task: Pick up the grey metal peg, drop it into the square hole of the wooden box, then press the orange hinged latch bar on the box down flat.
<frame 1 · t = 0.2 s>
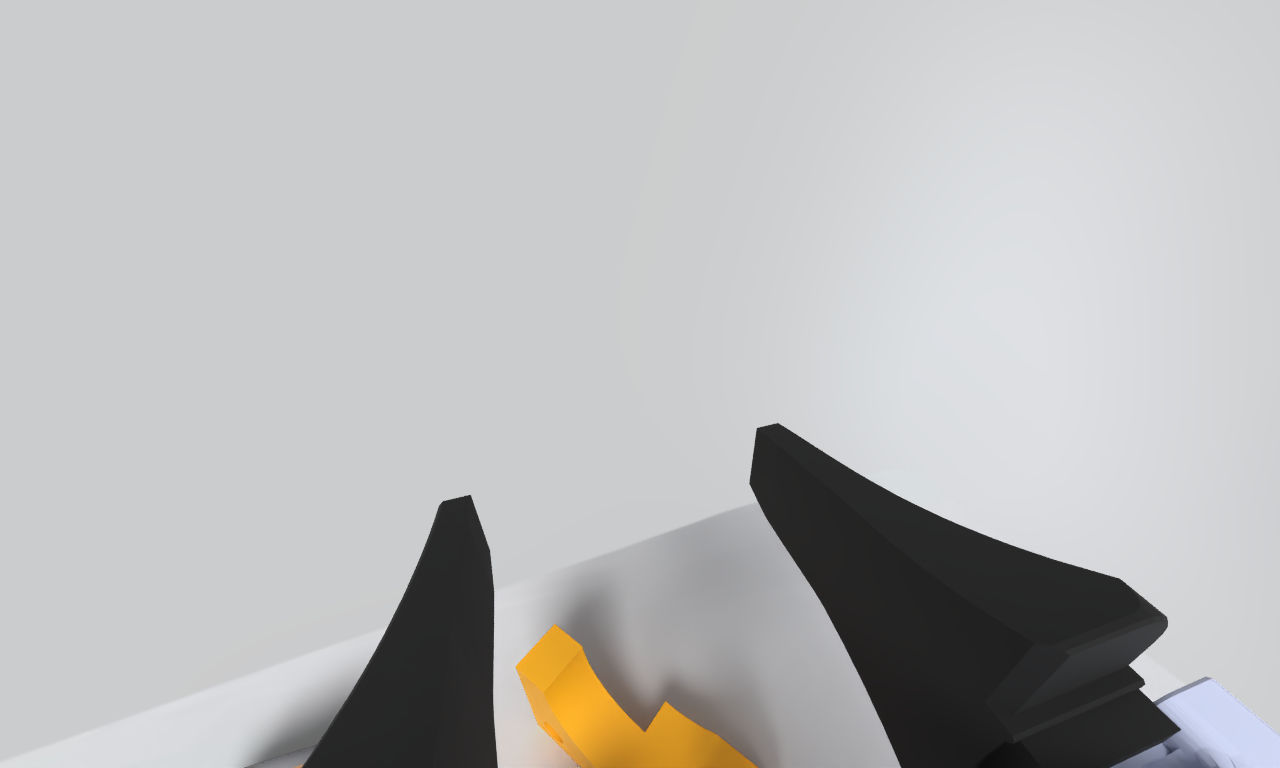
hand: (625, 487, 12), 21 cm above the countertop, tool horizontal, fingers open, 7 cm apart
pipe clamp: (649, 767, 25), on the countertop
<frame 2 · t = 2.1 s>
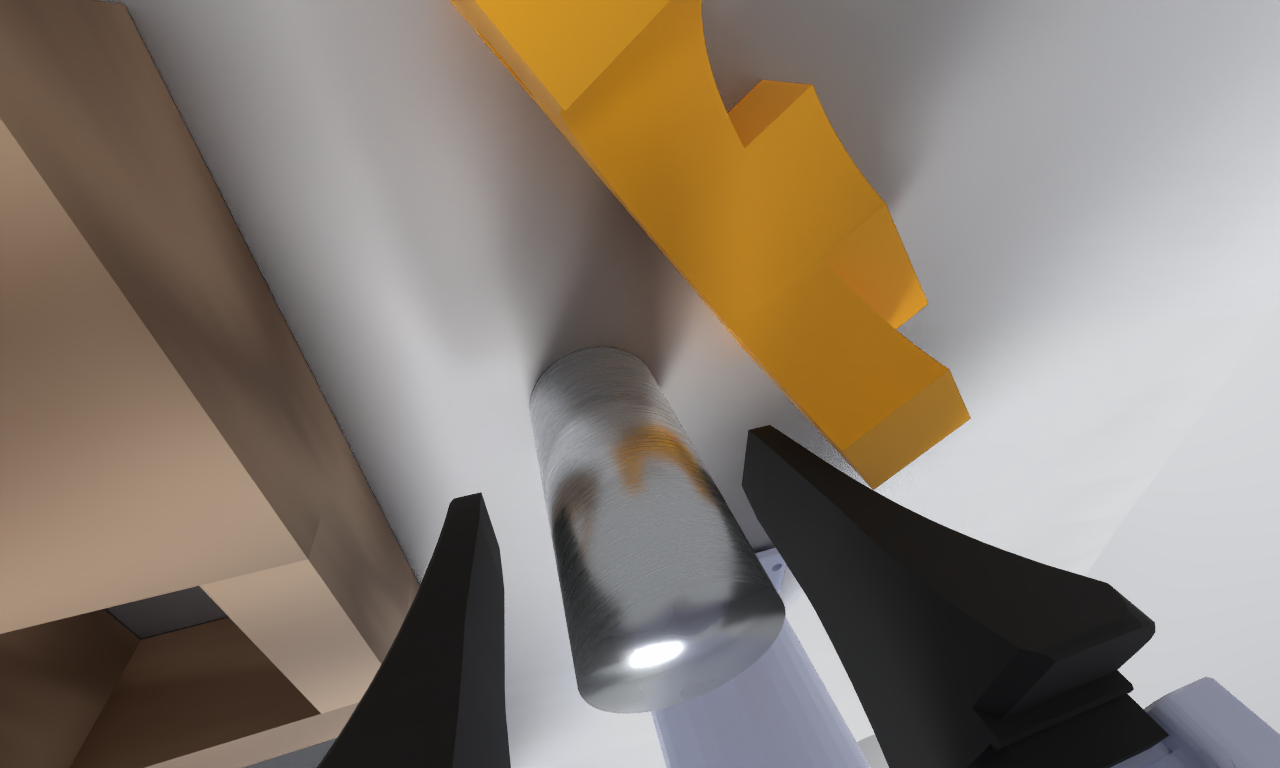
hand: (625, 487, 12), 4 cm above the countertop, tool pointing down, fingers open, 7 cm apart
wooden box: (106, 452, 12), on the countertop
pipe clamp: (695, 159, 13), on the countertop, touching gripper
peg: (594, 403, 15), on the countertop
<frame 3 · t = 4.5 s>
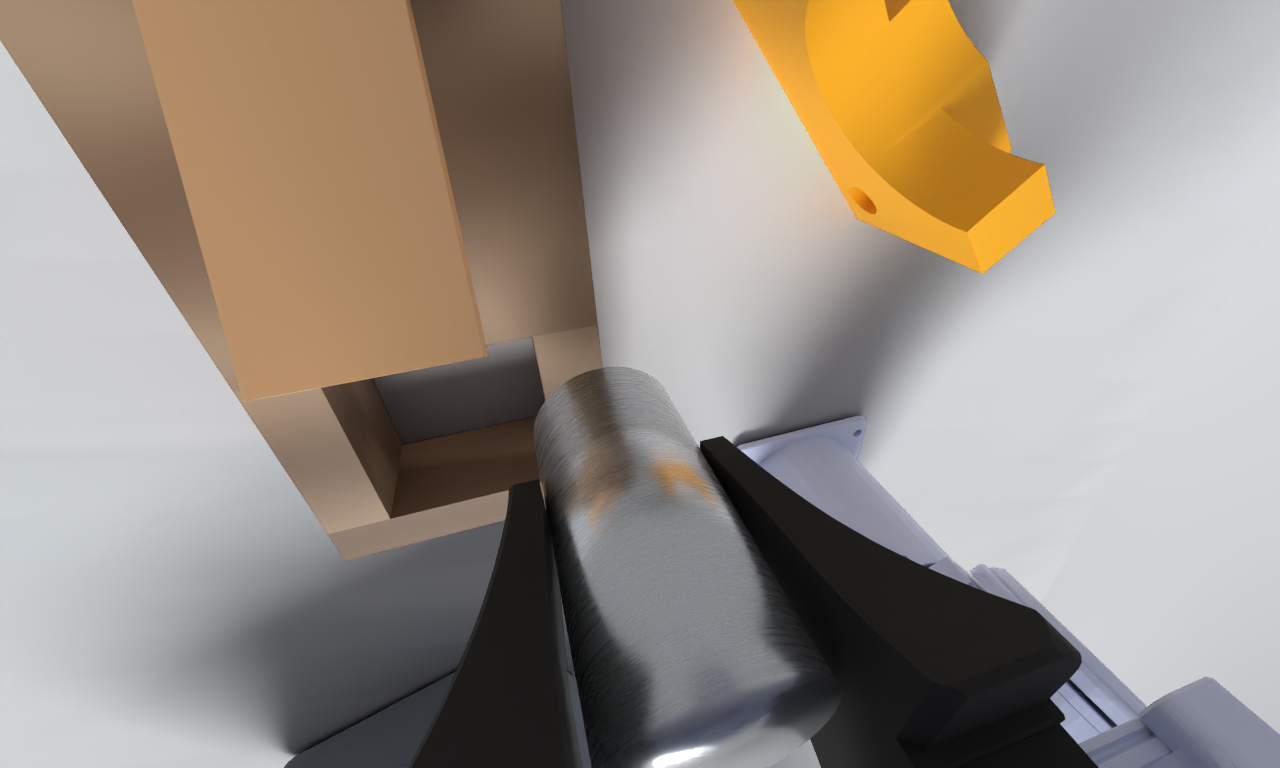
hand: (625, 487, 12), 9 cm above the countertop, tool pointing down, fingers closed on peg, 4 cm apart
storage bin: (455, 712, 33), on the countertop
wooden box: (427, 272, 17), on the countertop
latch: (322, 153, 9), point 6 cm above the countertop, hinge at 30.0°
pipe clamp: (832, 47, 17), on the countertop
peg: (605, 427, 14), point 7 cm above the countertop, touching gripper
when the fingers open (5 cm above the countertop, at t = 6.0 s): peg drops 3 cm, resting in wooden box.
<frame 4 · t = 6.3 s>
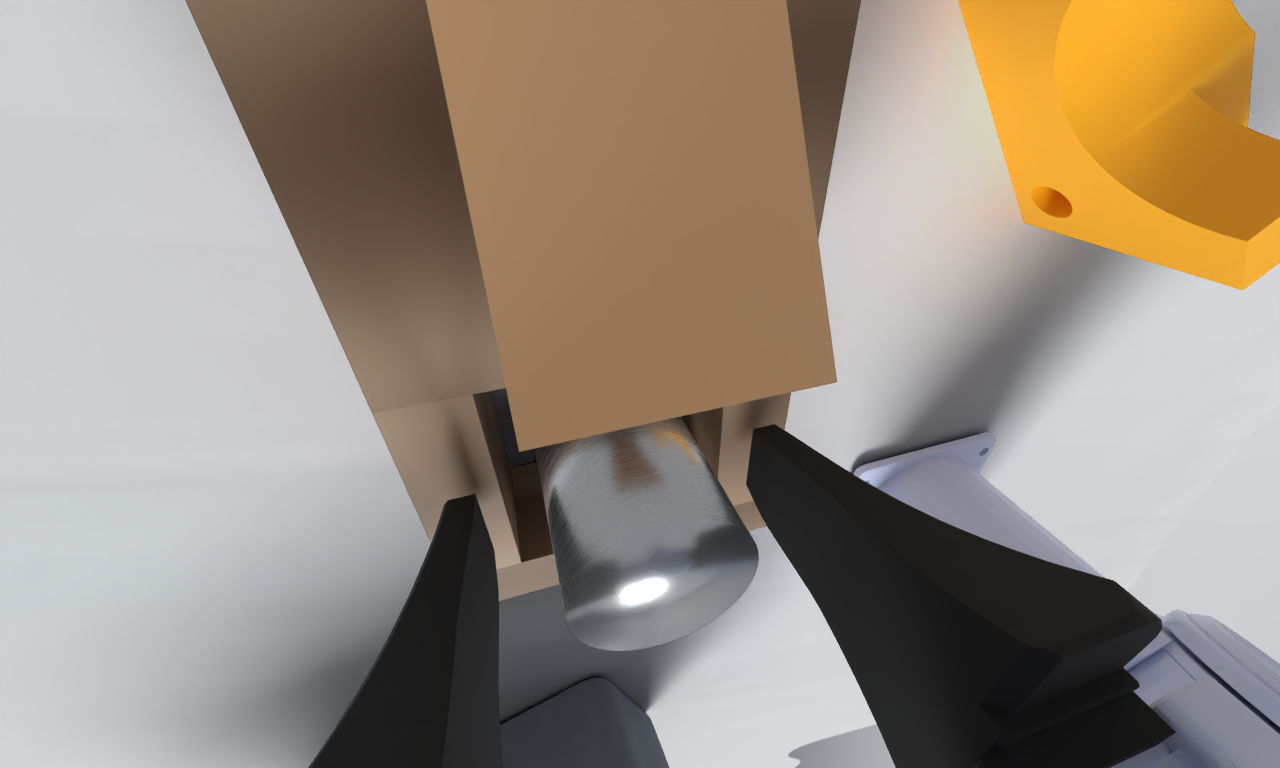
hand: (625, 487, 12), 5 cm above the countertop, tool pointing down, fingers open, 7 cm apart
storage bin: (516, 752, 30), on the countertop
wooden box: (572, 265, 14), on the countertop
latch: (620, 75, 6), point 7 cm above the countertop, hinge at 30.0°
pipe clamp: (1036, 21, 14), on the countertop
peg: (585, 375, 16), resting in wooden box
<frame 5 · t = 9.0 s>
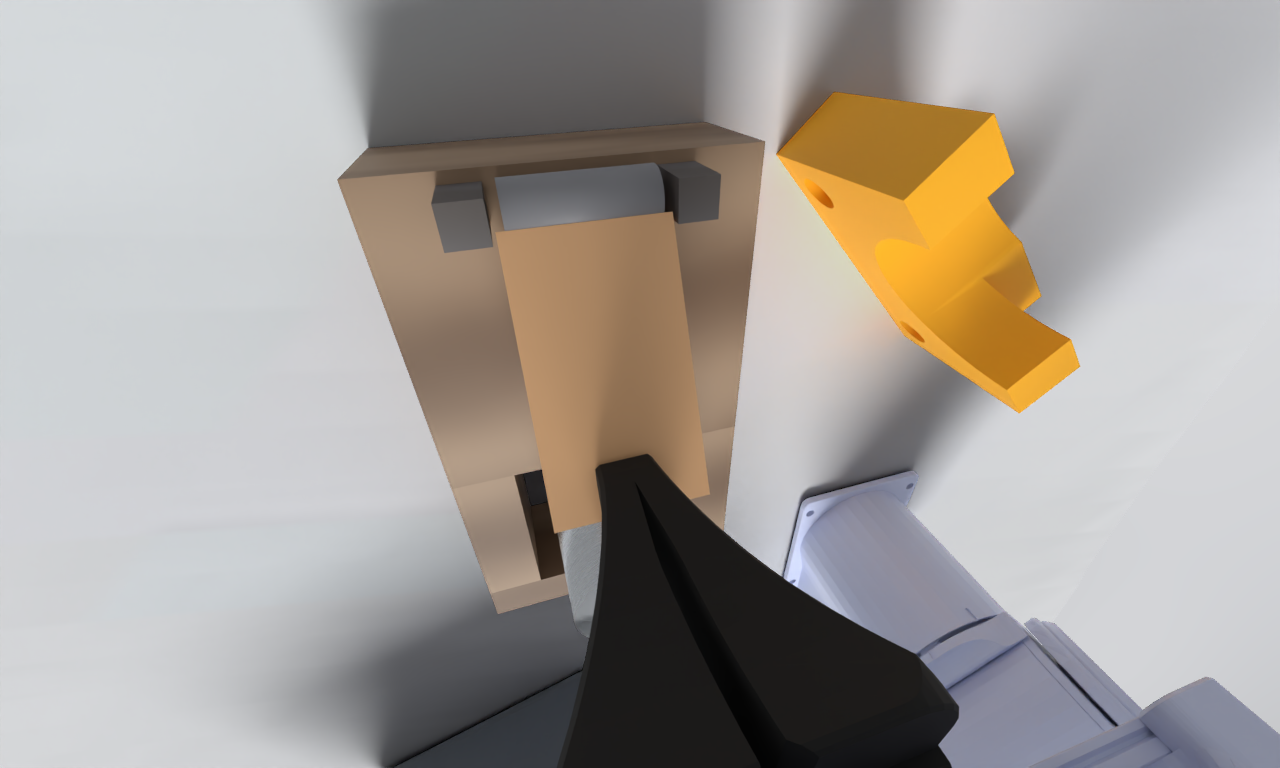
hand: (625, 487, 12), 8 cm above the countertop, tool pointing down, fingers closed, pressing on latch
storage bin: (527, 730, 36), on the countertop
wooden box: (578, 370, 19), on the countertop
latch: (604, 348, 12), point 6 cm above the countertop, hinge at 25.6°, touching gripper
pipe clamp: (886, 217, 20), on the countertop
peg: (587, 441, 22), resting in wooden box
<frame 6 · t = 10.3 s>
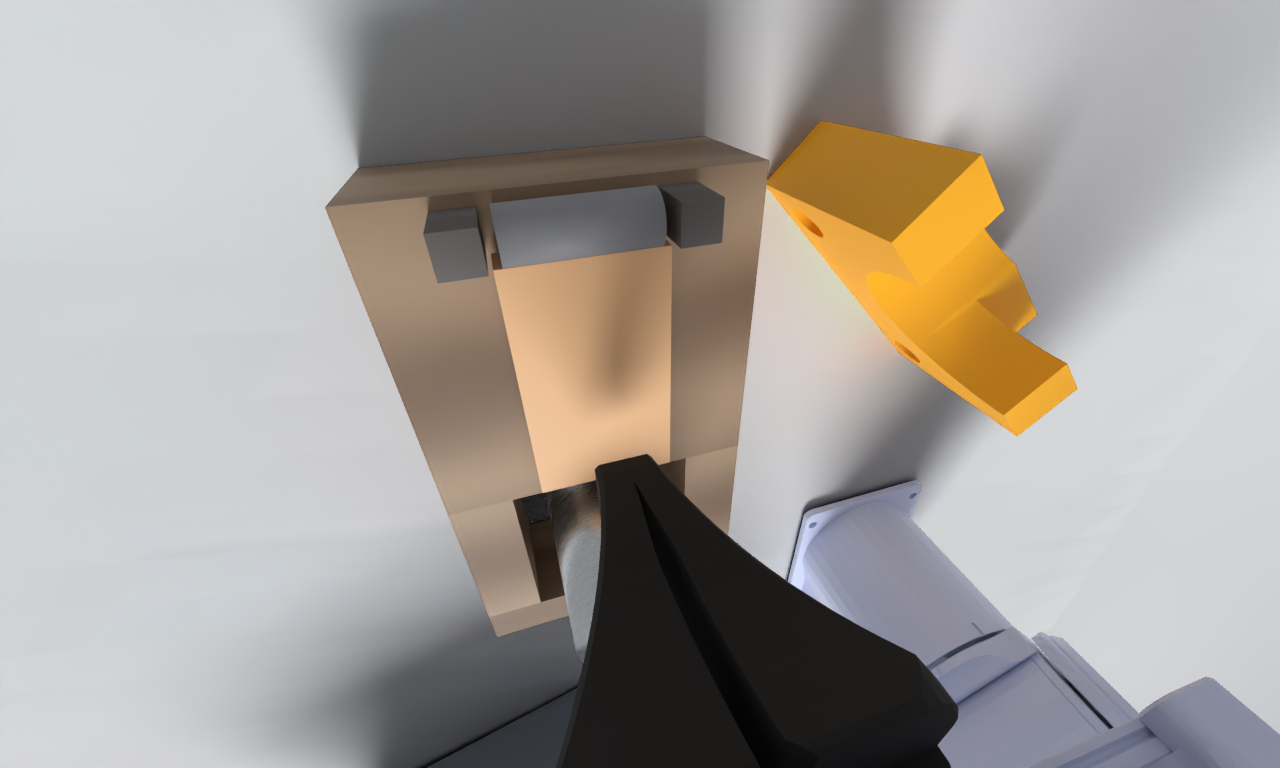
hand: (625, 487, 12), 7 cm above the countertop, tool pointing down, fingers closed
storage bin: (527, 744, 35), on the countertop
wooden box: (577, 388, 19), on the countertop
latch: (592, 356, 13), point 5 cm above the countertop, hinge at -1.1°
pipe clamp: (878, 239, 20), on the countertop
peg: (586, 458, 21), resting in wooden box
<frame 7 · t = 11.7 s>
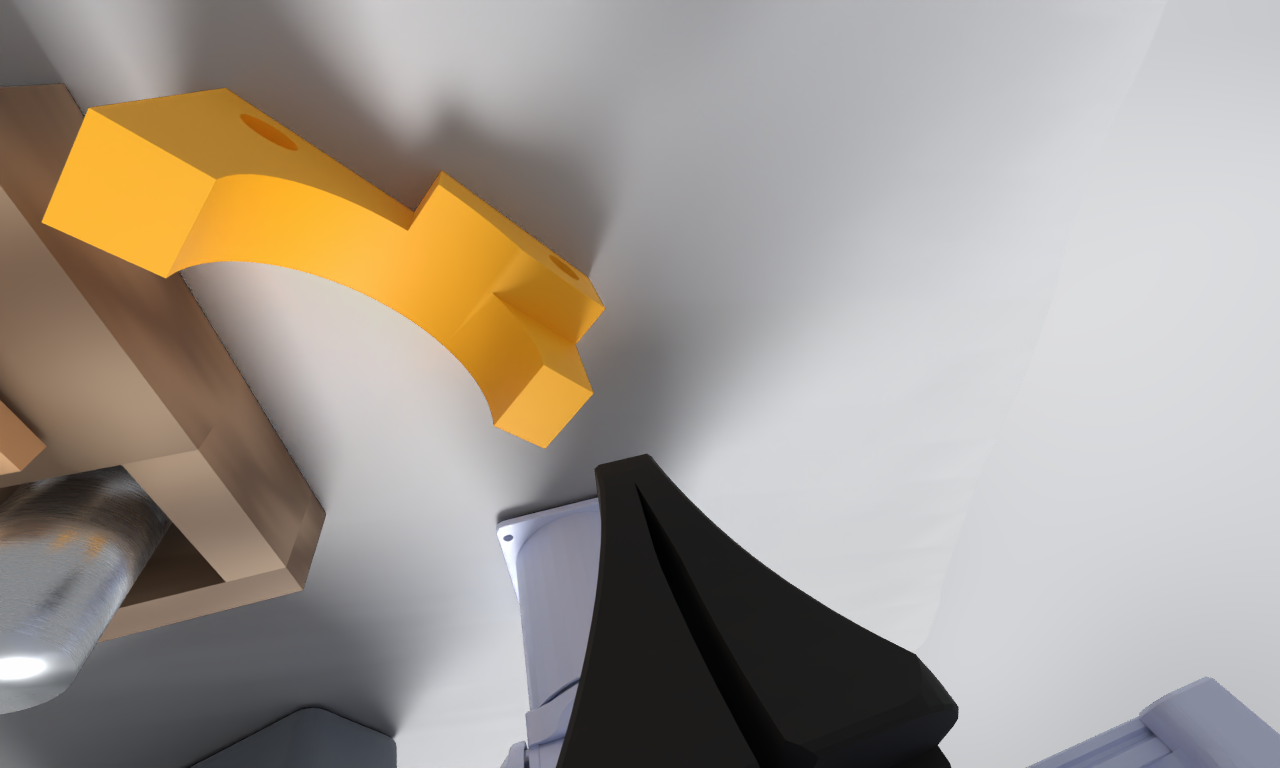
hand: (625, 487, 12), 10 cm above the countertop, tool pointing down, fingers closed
wooden box: (64, 384, 17), on the countertop
pipe clamp: (421, 226, 17), on the countertop
peg: (134, 464, 19), resting in wooden box
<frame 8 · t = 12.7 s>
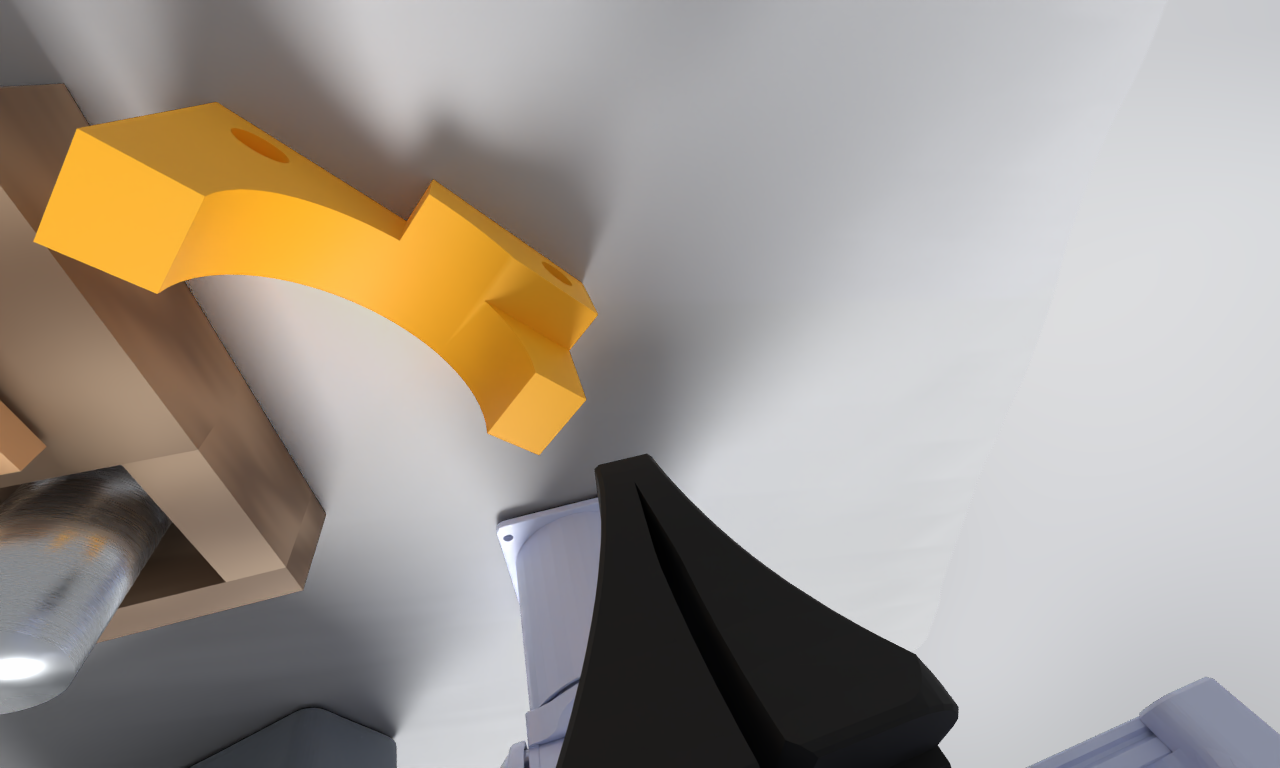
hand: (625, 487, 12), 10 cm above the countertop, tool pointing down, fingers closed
wooden box: (64, 384, 17), on the countertop
pipe clamp: (414, 235, 18), on the countertop
peg: (134, 464, 19), resting in wooden box
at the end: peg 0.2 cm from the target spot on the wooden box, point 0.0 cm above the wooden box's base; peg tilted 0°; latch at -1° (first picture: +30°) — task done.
